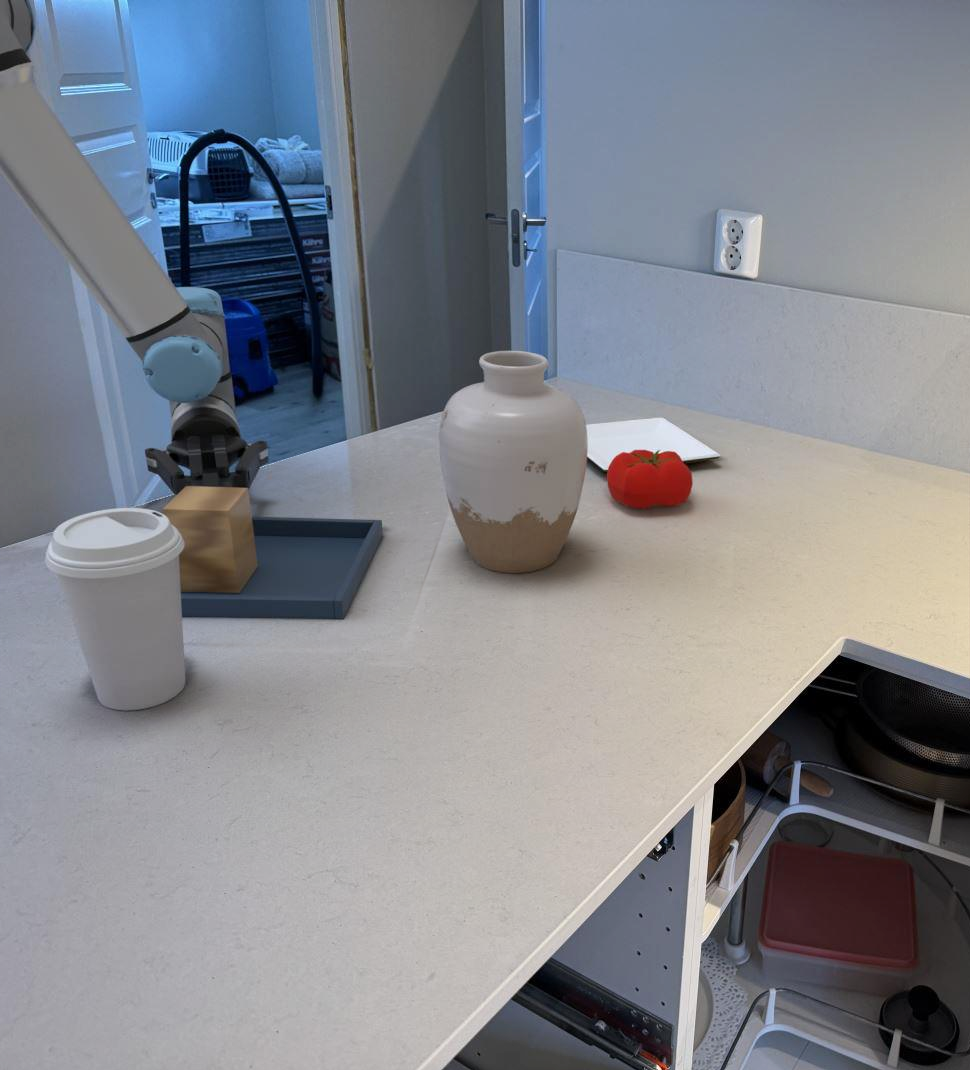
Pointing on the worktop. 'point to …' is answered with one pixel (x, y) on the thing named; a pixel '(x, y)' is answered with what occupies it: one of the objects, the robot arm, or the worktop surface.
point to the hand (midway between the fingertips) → (213, 507)
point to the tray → (297, 570)
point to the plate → (643, 441)
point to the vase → (513, 463)
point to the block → (214, 538)
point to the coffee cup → (124, 602)
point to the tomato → (649, 479)
